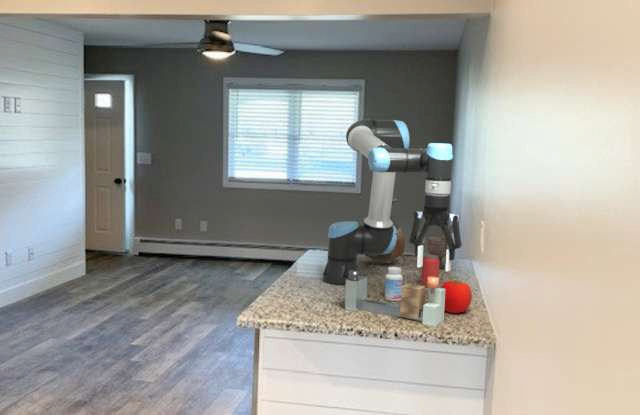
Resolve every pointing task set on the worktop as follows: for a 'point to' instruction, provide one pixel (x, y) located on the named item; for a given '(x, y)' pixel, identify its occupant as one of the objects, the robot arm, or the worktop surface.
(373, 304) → the rail
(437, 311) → the pale stepped block
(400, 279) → the pill bottle
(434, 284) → the cylinder
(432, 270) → the beer can
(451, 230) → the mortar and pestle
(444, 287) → the tomato
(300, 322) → the worktop surface
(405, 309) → the block
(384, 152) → the robot arm
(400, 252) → the vase
